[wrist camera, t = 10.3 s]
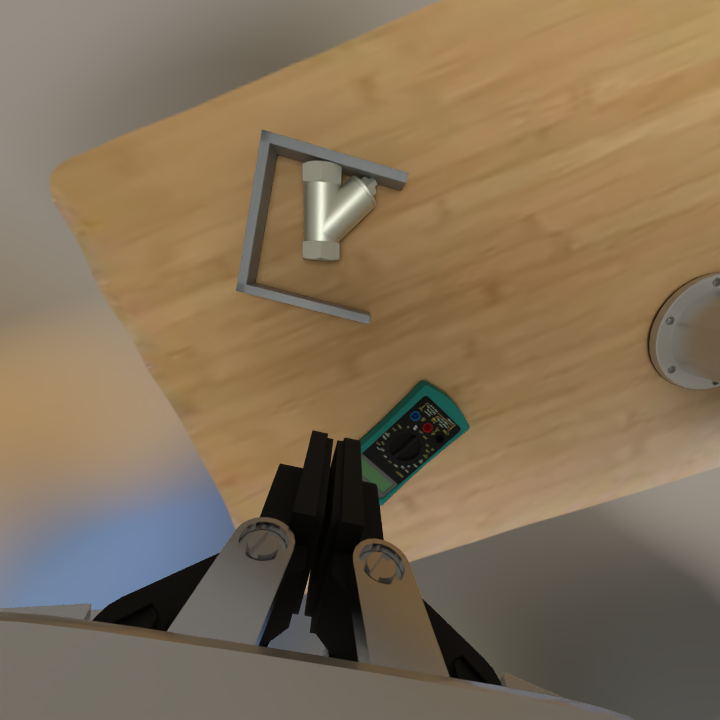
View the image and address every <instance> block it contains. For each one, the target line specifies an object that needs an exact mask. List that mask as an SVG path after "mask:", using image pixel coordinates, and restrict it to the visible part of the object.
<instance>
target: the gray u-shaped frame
mask: <svg viewBox="0 0 720 720" xmlns="http://www.w3.org/2000/svg"><path fill="white" fill-rule="evenodd" d="M277 155H280V156H283V157H287V158H290V159H293V160H297V161H300V162H304V163H305V162H308V161H328V162H333V163H336V164H338V165H340V166H341V167H342V174H345V175H348V176H353V175H355V176H357V177H358V178H359V179H362V178H363V177H366V178H368V179H370V178H374V179H375V180H376V182H377V184H379V185H383V186H386V187H390V188H393V189H397V190H400V191H401V190H402V189H403V187H404V185H405V184H406V181H407V178H408V174H409V173H407V172H403V171H400V170H397V169H393V168H390V167H387V166H383V165H380V164H376V163H373V162H370V161H366V160H363V159H360V158H356V157H353V156H350V155H346V154H343V153H339V152H336V151H333V150H329V149H326V148H323V147H319V146H316V145H312V144H309V143H306V142H302V141H299V140H296V139H292V138H289V137H285V136H282V135H279V134H275V133H272V132H269V131H265V130H262V133H261V139H260V145H259V151H258V158H257V164H256V170H255V176H254V183H253V189H252V195H251V201H250V207H249V214H248V220H247V226H246V232H245V239H244V245H243V251H242V257H241V264H240V270H239V276H238V282H237V289H236V291H239V292H243V293H247V294H251V295H255V296H259V297H263V298H267V299H271V300H275V301H279V302H283V303H287V304H291V305H295V306H299V307H303V308H307V309H311V310H314V311H318V312H322V313H326V314H330V315H334V316H338V317H342V318H346V319H350V320H354V321H358V322H362V323H366V324H369V321H370V317H371V316H370V313H369V312H366V311H362V310H358V309H354V308H350V307H346V306H342V305H338V304H334V303H330V302H327V301H323V300H319V299H315V298H311V297H307V296H303V295H299V294H295V293H291V292H288V291H284V290H280V289H276V288H272V287H268V286H264V285H260V284H256V283H255V281H256V276H257V270H258V264H259V258H260V253H261V247H262V241H263V235H264V229H265V224H266V218H267V212H268V206H269V201H270V195H271V189H272V183H273V178H274V172H275V166H276V160H277Z"/></svg>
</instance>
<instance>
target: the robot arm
mask: <svg viewBox="0 0 720 720" xmlns="http://www.w3.org/2000/svg"><path fill="white" fill-rule="evenodd" d="M649 349H650V356H651V359H652V363H653V365H654V366H655V368H656V370H657V371H658V372H659V373H660V375H661V376H662V377H663V378H665V379H666V380H668V381H669V382H671V383H674V384H676V385H679V386H681V387H685V388H689V389H697V390H704V389H711V388H715V387H719V386H720V272H718V273H711V274H707V275H704V276H701V277H698V278H696V279H694V280H693V281H691V282H689V283H687V284H686V285H684V286H683V287H681V288H680V289H679V290H677V291H676V292H675V293H674V294H673V295H672V296H671V297H670V298H669V299H668V300H667V302H666V303H665V304H664V306H663V307H662V308H661V310H660V311H659V313H658V315H657V317H656V319H655V321H654V324H653V327H652V330H651V334H650V340H649ZM327 437H328V434H327V433H322V432H318V431H312V435H311V439H310V443H309V447H308V451H307V455H306V459H305V463H304V467H303V468H299V467H294V466H289V465H285V464H280V465H279V467H278V470H277V473H276V475H275V478H274V481H273V483H272V486H271V489H270V491H269V494H268V497H267V499H266V502H265V505H264V507H263V510H262V513H261V515H260V517H258V518H254V519H250V520H248V521H246V522H244V523H242V524H241V525H240V526H239V527H238V528H237V529H236V530H235V531H234V533H233V534H232V536H231V537H230V539H229V540H228V542H227V543H226V545H225V546H224V547H223V549H222V551H221V552H220V553H218V554H216V555H214V556H212V557H209V558H207V559H205V560H203V561H200V562H198V563H196V564H194V565H192V566H190V567H187V568H185V569H183V570H181V571H178V572H176V573H174V574H172V575H170V576H168V577H165V578H163V579H161V580H159V581H156V582H154V583H152V584H150V585H148V586H146V587H143V588H141V589H139V590H137V591H135V592H132V593H130V594H128V595H126V596H123V597H121V598H120V599H118V600H116V601H115V602H113V603H111V604H109V605H108V606H107V607H106V608H104V609H102V610H91V604H75V605H57V606H39V607H20V608H2V609H0V720H635V719H633V718H631V717H628V716H625V715H622V714H619V713H616V712H613V711H610V710H607V709H604V708H601V707H598V706H594V705H589V704H585V703H581V702H577V701H573V700H569V699H566V698H563V697H561V696H559V695H556V694H554V693H551V692H549V691H547V690H544V689H542V688H540V687H537V686H535V685H533V684H530V683H528V682H526V681H523V680H521V679H519V678H516V677H514V676H512V675H509V674H507V673H505V672H504V673H503V675H502V677H498V676H497V675H496V673H495V672H494V670H493V668H492V667H491V666H490V665H489V664H488V663H487V661H486V660H485V659H484V658H483V657H482V656H481V655H480V654H479V653H478V652H477V651H476V650H475V649H474V648H473V647H472V646H471V645H470V644H469V643H468V642H466V641H465V640H464V639H463V638H462V637H461V636H460V635H459V634H458V633H457V632H456V631H455V630H454V629H453V628H452V627H451V626H450V625H449V624H448V623H447V622H446V621H445V620H444V619H443V618H442V617H441V616H440V615H439V614H438V613H437V612H436V611H435V610H434V609H433V608H432V607H431V606H429V605H428V604H427V603H426V602H425V601H424V600H423V599H422V597H421V594H420V592H419V589H418V586H417V583H416V580H415V577H414V575H413V572H412V569H411V566H410V564H409V562H408V560H407V558H406V556H405V555H404V554H403V553H402V551H401V550H400V549H398V548H397V547H396V546H394V545H393V544H391V543H389V542H387V541H385V540H384V539H383V531H382V522H381V513H380V505H379V496H378V488H377V484H375V483H370V482H365V481H362V462H361V442H360V441H359V440H354V439H350V438H344V441H339V440H338V441H337V444H336V448H335V452H334V456H333V460H332V463H331V454H332V446H333V439H330V438H327ZM330 463H331V467H330ZM310 569H311V570H310ZM309 573H310V578H309V585H308V592H307V599H306V606H305V616H310V617H312V619H311V628H310V633H315V634H316V635H317V636H318V637H319V639H320V640H321V641H322V643H323V644H324V650H323V656H318V655H312V654H306V653H299V652H293V651H287V650H280V649H275V648H269V645H270V641H271V640H273V639H274V638H275V637H277V636H278V635H279V634H281V633H282V632H283V631H284V630H286V629H287V628H288V627H289V624H290V621H291V617H292V613H293V614H298V613H299V610H300V606H301V602H302V599H303V595H304V592H305V588H306V584H307V581H308V577H309Z"/></svg>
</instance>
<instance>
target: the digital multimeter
mask: <svg viewBox="0 0 720 720" xmlns="http://www.w3.org/2000/svg"><path fill="white" fill-rule="evenodd" d="M422 397H423V398H422ZM396 421H397V422H396ZM395 422H396V423H395ZM468 429H469V424H468V423H467V421H466V419H465V417H464V416H463V414H462V413H461V411H460V410H459V409H458V407H457V406H456V405H455V403H454V402H453V401H452V400H451V399H450V398H449V397H448V396H447V395H446V394H445V393H444V392H442V391H441V390H439V389H438V388H437V387H435V386H433V385H431V384H430V383H428V382H426V381H421V382H419V383H418V384H417V386H416V387H415V388H414V389H413V390H412V391H411V392H410V393H409V394H408V395H407V396H406V397H405V398H404V399H403V400H402V401H401V402H400V403H399V404H398V405H397V406H396V407H395V408H394V409H393V410H392V411H391V412H390V413H389V414H388V415H387V416H386V417H385V418H384V419H383V420H382V421H381V422H380V423H378V424H377V425H376V426H375V427H374V428H373V429H372V430H371V431H370V432H369V433H367V434H366V435H365V436H364V437H363V438H362V439H361V440H359V441H360V442H361V462H362V481H365V482H370V483H375V484H377V488H378V496H379V505H383V504H384V503H385V502H386V501H387V500H388V499H389V498H390V497H391V496H392V495H393V494H394V493H395V492H396V491H397V490H398V489H399V488H401V487H402V486H403V485H404V484H405V483H406V482H407V481H408V480H409V479H410V478H411V477H412V476H413V475H414V474H416V473H417V472H418V471H419V470H420V469H421V468H422V467H423V466H424V465H426V464H427V463H428V462H429V461H430V460H431V459H433V458H434V457H435V456H436V455H437V454H439V453H440V452H441V451H442V450H444V449H445V448H446V447H447V446H448V445H450V444H451V443H452V442H453V441H455V440H456V439H457V438H459V437H460V436H461V435H462V434H464V433H465V432H466V431H467V430H468ZM383 433H384V434H383ZM382 434H383V435H382ZM417 435H418V436H417ZM419 437H420V438H419ZM369 446H370V447H369ZM419 455H420V456H419ZM401 462H402V463H401Z"/></svg>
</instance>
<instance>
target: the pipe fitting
mask: <svg viewBox="0 0 720 720" xmlns="http://www.w3.org/2000/svg"><path fill="white" fill-rule="evenodd" d="M341 174H342V167H341V166H340V165H338V164H336V163H333V162H328V161H308V162H305V163H303V186H304V241H303V259H307V260H323V261H339V253H340V243H339V241H340V240H341V239H342V238H343V237H344V236H345V235H346V234H347V233H348V232H349V231H350V230H351V229H353V228H354V227H355V226H356V225H357V224H358V223H359V222H360V221H361V220H362V219H363V218H364V217H365V216H366V215H367V214H368V213H369V212H370V211H371V210H372V209H373V208H374V207H375V206H376V200H375V198H374V195H375V194H376V192H377V191H376V188H375V187H376V186H377V185H378V184H377V182H376V180H375V179H374V178H370V179H368V178H366V177H363V178H362V179H361V180H360V179H359V178H358V177H357V176H355V175H353V176H352V177H351V178H350V179H349V180H348V181H347V182H346V183H345V184H344V185H343V186H342V187H341Z"/></svg>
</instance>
